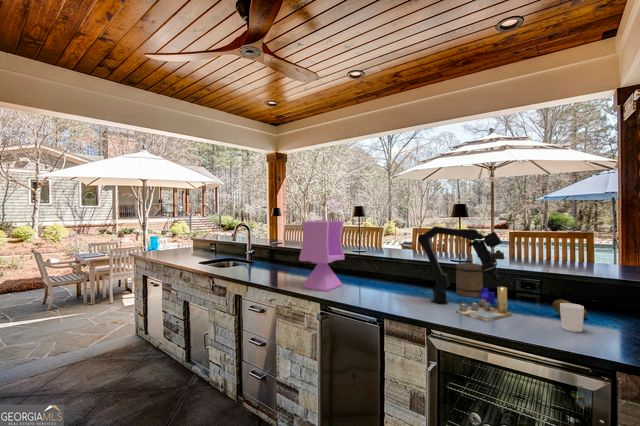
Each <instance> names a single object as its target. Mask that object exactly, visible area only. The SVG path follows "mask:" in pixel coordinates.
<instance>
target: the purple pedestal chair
mask: <svg viewBox="0 0 640 426" xmlns="http://www.w3.org/2000/svg"><path fill="white" fill-rule="evenodd" d="M344 223H345V221H344V220H307V221H305V220H303V221H301V225H302V231H303V232H302V233H303V241H302V246H301V250H300V254H299V257H298V258H299V259H298V260H299V262H300V261H301V262H308V263H313V264H316V265H315V267H314V268H313V270H312V271H311V272H310V274H309V276H307V278H306V280H305V281H304V282H303V284H302V286H301V287H302V288H301V289H307V290H313V291H320V292H325V293H328V292H331V291H332V290H335V289H338V288H340V287H341V288H342V286H343V283H342V282H341V280H340V279H339V278H338V276H337V275H336V274H335V272H334V270H332V268H331V267H330V266H329V264H330V263H332V262H335V261H343V260H345V259H346V258H345V256H346V255H345V252H344V249H343V245H342V232H343V226H344Z"/></svg>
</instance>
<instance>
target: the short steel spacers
mask: <svg viewBox="0 0 640 426" xmlns="http://www.w3.org/2000/svg"><path fill="white" fill-rule="evenodd" d="M478 300H479V301H478V302H477V301H472V302H471V307H472V310H473V311H478V306H480V307H483V310H485V311H490V307H491V303H488V302H487V301H486V300H485V299H480V298H479V299H478ZM467 304H468V303H466V302H460V303H459V310H460V311H463V312H466V311H467V308H468V307H467V306H468V305H467Z"/></svg>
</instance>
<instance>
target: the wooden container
mask: <svg viewBox="0 0 640 426" xmlns="http://www.w3.org/2000/svg"><path fill="white" fill-rule="evenodd" d="M465 261H466V262H462V263H461V262H459V263H456V267H455V269H456V271H455V274H456V275H455V277H456V278H455V283H456V284H455V288H456V289H455V293H456V294H457V295H458V296H462V297H468V298H479V293H482V288H484V281H483V280H484V278H483V277H484V276H483V275H484V274H483V272H484V271H483V270H482V268H481V266H482V264H480V263H473V259H471V258H466V260H465Z"/></svg>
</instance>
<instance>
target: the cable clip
mask: <svg viewBox="0 0 640 426" xmlns="http://www.w3.org/2000/svg"><path fill="white" fill-rule="evenodd" d="M495 294H496V292H493V291H489V288H488V287H483V288H482V293H479V297H478V298H479V299H485V300H486V302H488V303H490V304H494V305H495V304H496V295H495Z"/></svg>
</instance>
